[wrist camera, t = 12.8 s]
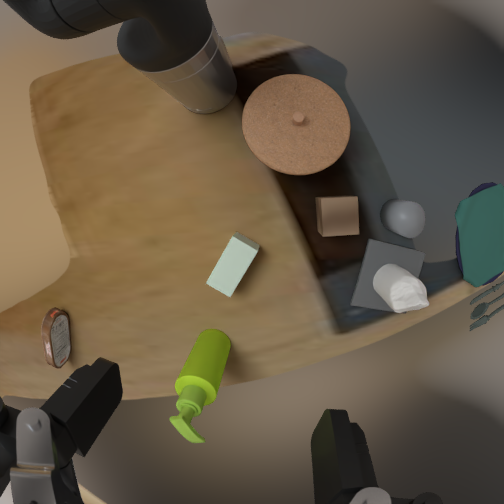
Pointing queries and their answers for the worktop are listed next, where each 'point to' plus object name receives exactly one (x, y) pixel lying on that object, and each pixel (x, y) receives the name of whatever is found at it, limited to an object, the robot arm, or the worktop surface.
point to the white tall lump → (400, 288)
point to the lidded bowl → (296, 124)
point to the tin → (56, 337)
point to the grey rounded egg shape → (403, 217)
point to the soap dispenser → (200, 380)
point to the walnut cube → (337, 215)
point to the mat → (373, 261)
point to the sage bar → (233, 264)
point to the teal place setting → (481, 242)
